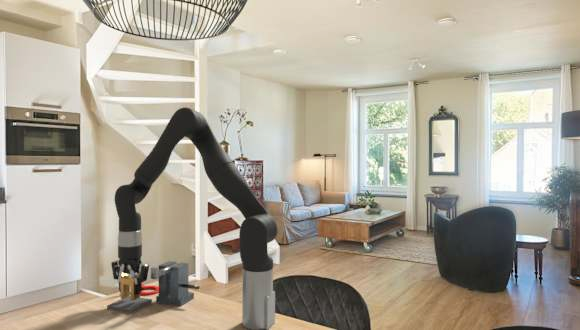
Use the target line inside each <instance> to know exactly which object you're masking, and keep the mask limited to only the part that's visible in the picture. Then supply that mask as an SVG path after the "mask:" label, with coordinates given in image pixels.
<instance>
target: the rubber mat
mask: <svg viewBox="0 0 580 330" xmlns="http://www.w3.org/2000/svg"><path fill="white" fill-rule="evenodd" d="M152 303H153V299H152V298H147V297H146V298H145V297H140V298H138V299H136V300H131V295H130V296H129V297H126V298H124V299H121V298H120V299H119V300H116V301H114V302H112V303H109V304H108V305H106V310H109V311H114V312H121V313H126V314H134V313H136V312H137V311H139V310H141V309H143V308H145V307H147V306H149V305H151V304H152Z"/></svg>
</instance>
